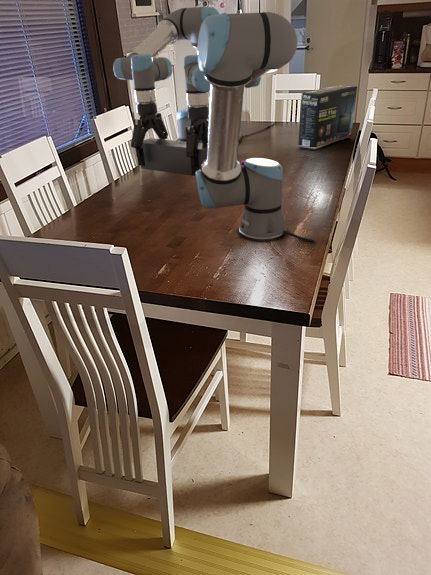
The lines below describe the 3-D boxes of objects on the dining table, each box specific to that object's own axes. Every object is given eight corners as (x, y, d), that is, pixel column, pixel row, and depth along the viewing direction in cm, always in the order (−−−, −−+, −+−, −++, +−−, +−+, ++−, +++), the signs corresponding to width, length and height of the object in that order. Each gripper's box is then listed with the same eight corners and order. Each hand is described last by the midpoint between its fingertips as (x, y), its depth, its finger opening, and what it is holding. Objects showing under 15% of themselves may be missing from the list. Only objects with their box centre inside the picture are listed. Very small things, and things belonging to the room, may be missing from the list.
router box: (314, 151, 231) (318, 94, 217) (296, 148, 237) (299, 92, 224) (352, 138, 251) (358, 85, 238) (335, 135, 258) (340, 83, 245)
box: (213, 171, 170) (212, 144, 165) (203, 177, 164) (201, 149, 159) (152, 163, 182) (150, 138, 177) (141, 168, 177) (138, 142, 172)
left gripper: (158, 96, 177) (163, 151, 188) (115, 107, 159) (124, 168, 170) (174, 97, 174) (178, 153, 185) (132, 109, 156) (140, 170, 167)
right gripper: (204, 100, 166) (207, 163, 177) (171, 110, 151) (177, 178, 162) (222, 101, 162) (224, 165, 174) (191, 111, 147) (195, 181, 159)
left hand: (152, 160), depth 177 cm, fingers open, 13 cm apart
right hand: (201, 171), depth 168 cm, fingers closed on box, 7 cm apart
